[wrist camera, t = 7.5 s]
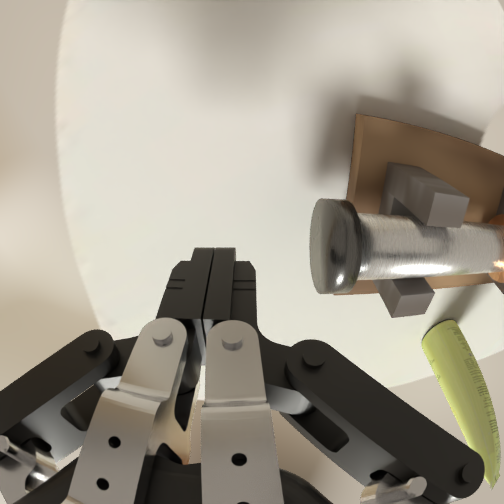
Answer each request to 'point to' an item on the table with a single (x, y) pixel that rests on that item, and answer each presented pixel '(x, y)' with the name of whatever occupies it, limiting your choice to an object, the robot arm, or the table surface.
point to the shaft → (396, 247)
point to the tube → (465, 392)
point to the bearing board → (434, 160)
